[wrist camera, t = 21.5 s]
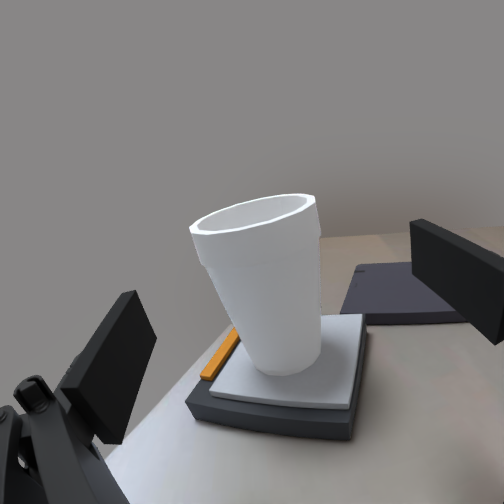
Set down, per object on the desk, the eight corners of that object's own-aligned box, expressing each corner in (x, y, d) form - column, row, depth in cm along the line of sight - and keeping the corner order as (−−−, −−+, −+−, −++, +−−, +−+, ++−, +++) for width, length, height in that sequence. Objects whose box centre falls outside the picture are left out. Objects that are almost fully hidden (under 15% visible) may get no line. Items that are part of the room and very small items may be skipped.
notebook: (340, 324, 33) (514, 317, 22) (339, 313, 33) (517, 305, 22) (357, 273, 43) (491, 266, 33) (356, 264, 43) (492, 256, 32)
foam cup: (217, 381, 24) (163, 240, 20) (257, 322, 32) (224, 204, 28) (327, 393, 20) (298, 223, 16) (345, 322, 28) (325, 188, 24)
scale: (194, 418, 25) (181, 395, 23) (250, 332, 36) (243, 310, 35) (349, 440, 19) (348, 416, 17) (366, 331, 30) (365, 306, 29)
